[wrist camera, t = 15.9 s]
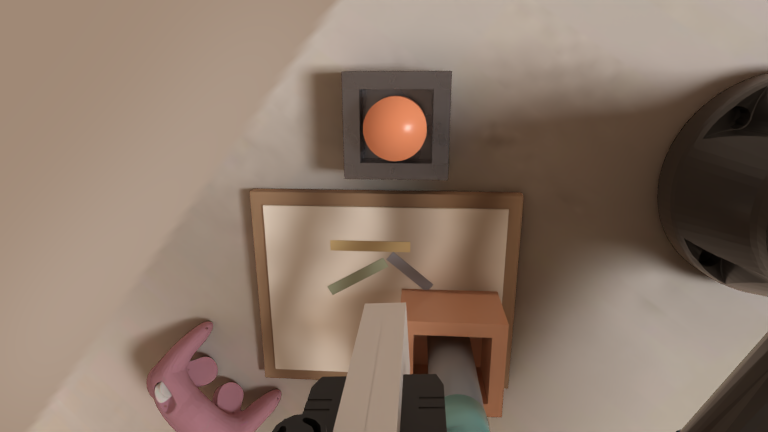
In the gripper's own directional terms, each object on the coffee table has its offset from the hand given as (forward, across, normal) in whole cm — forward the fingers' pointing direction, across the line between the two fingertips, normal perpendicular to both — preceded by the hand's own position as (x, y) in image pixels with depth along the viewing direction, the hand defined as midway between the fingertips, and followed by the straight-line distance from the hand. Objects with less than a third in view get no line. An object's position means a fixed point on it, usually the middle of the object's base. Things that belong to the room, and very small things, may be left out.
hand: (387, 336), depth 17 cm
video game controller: (+19, -16, -14) cm, 29 cm away
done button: (+17, 0, +6) cm, 18 cm away
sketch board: (+19, -2, -7) cm, 20 cm away
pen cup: (+18, +3, -10) cm, 21 cm away
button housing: (+19, 0, +6) cm, 20 cm away
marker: (+17, +3, -10) cm, 20 cm away
